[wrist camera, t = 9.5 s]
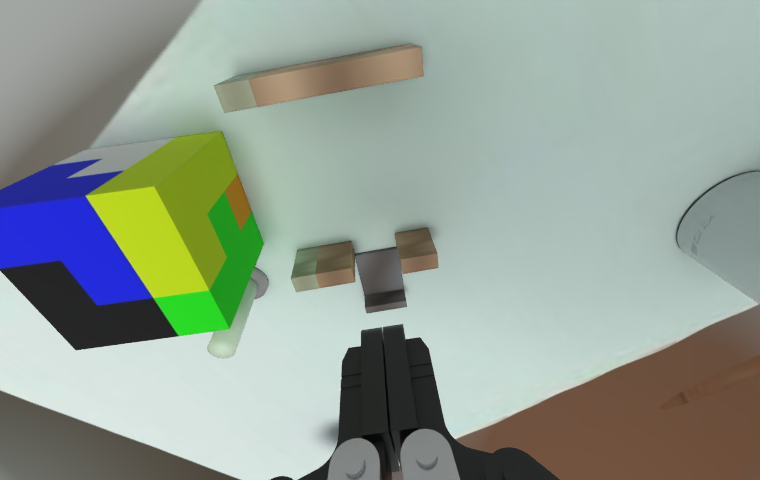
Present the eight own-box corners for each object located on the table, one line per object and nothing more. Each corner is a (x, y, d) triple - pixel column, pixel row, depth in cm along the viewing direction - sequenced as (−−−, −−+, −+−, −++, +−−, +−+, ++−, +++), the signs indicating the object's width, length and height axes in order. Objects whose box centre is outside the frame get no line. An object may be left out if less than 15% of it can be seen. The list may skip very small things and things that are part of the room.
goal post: (260, 263, 31) (235, 329, 24) (273, 291, 33) (253, 360, 26) (222, 269, 31) (187, 337, 24) (237, 297, 33) (208, 368, 26)
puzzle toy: (86, 149, 24) (-53, 214, 16) (222, 130, 24) (154, 186, 16) (153, 258, 30) (75, 350, 21) (264, 243, 30) (229, 329, 21)
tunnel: (410, 43, 22) (421, 47, 19) (433, 287, 34) (442, 316, 31) (234, 76, 22) (213, 85, 19) (318, 307, 34) (314, 338, 31)
